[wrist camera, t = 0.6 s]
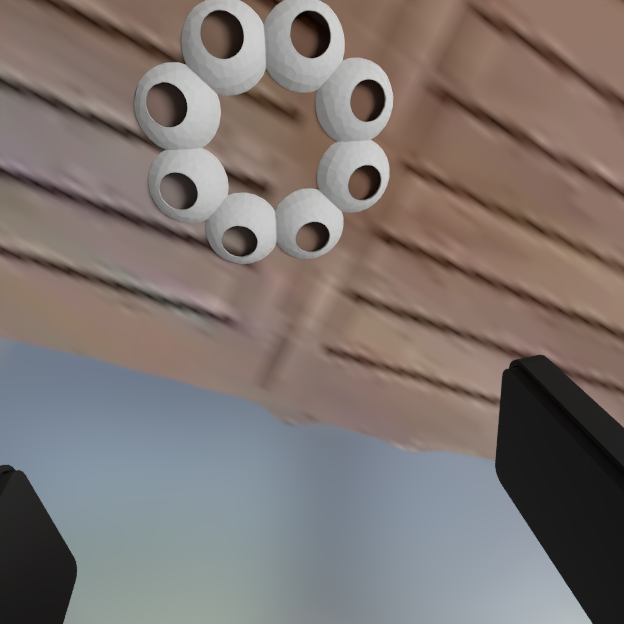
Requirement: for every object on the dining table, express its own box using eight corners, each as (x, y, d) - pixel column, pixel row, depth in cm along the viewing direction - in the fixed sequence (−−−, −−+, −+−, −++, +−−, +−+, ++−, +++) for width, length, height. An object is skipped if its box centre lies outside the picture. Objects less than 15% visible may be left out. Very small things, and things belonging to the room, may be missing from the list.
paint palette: (75, 64, 32) (66, 63, 30) (344, -66, 31) (351, -74, 29) (214, 300, 41) (214, 311, 39) (424, 206, 40) (433, 212, 38)
